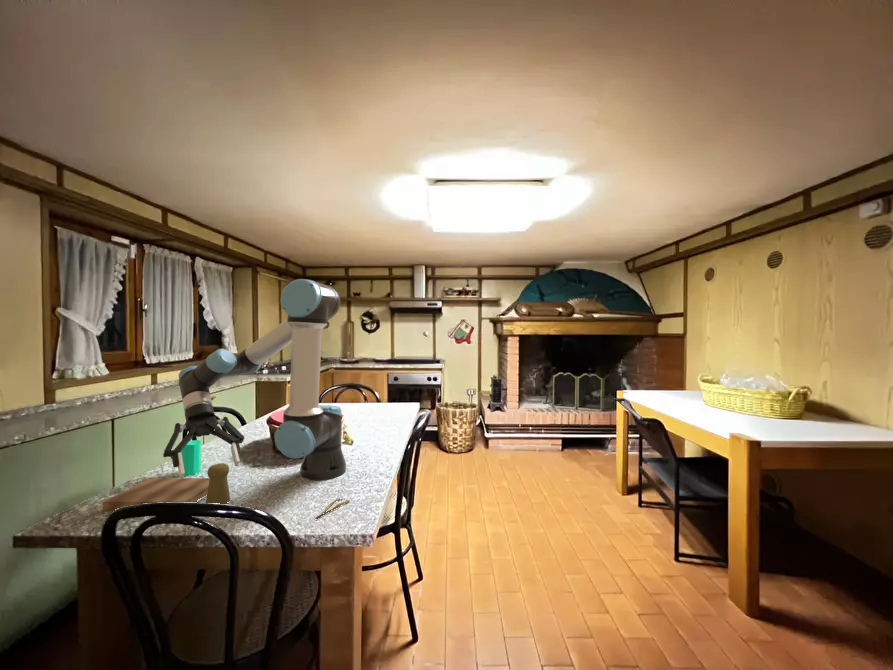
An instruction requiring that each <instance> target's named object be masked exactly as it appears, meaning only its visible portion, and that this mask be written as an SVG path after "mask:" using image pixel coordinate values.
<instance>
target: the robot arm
mask: <svg viewBox="0 0 893 670" xmlns="http://www.w3.org/2000/svg"><path fill="white" fill-rule="evenodd" d="M280 306H281V308H282V309H283V311H284V313H285V314H287V318H286V319H285V320H283V321H282V322H281V323H279V324H278V325H277V326H275V327H274V328H272V329H271V330H269V331H268V332H267V333H265V334H264V335H263V336H261V337H260V338H258V339H257V340H256V341H254V342H253V343H252V344H250V345H249V346H248V347H246V348H245V349H243V350H242V351H240V352H238V353H233V352H232V351H231V350H228V349H225V348H218V349H216V350H215V351H214V352H212V353H210V354H209V355H208V356H207V357H205V359H203V361H202V362H200V363H199V364H198V365H190V366H187V367H186V368H183V369H181V370H180V371H179V373H178V387H179V390H180V395H181V400H182V406H183V412H184V418H185V424H180V422H177V423H175V425H174V429H173V433H172V435H171V437H170V439H169V441H168V443H167V445H166V447H165V448H164V451H163V454H162V457H163V458H167V457H168V458H170V459H171V460H172V467H173V468H177V471H178V475H179V477H178V478H180V479H181V478H185V476H184V474H185V471H184V465H183V459H182V453H181V450H182V449H183V448H184V447H185V446H186V445H187V443H188V442H189V441H190V440H191V441H192V439H194V437H197V438H200V437H203V436H210V435H212V436H214V437H218V438H219V439H221V440H223V441H224V442H225V443H228V444H229V445H230V451H231V456H232V460H233V463H234V467H238V466H239V464H240V461H241V460H240V456H239V455H240V453H241V451H242V449H241V447H240V444H243V442H244V440H245V436H244V435H243V434H242V432H240V431H239V429H238V428H236V427H235V426H234V425H233V424H232V423H231V422H230V421H229V418H228V417H227V416H223V418H221V419H217V418H216V415H215V414H216V413H215V410H214V406H213V401H212V397H211V392H210V388H211V387H212V386H213V385H215V384H216V383H217V382H218V381H220V380H221V379H222V378H226V377H227V378H228V377H233V376H240V375H250V374H253V373H256V372H258V371H259V370H260V369H261V366H262V364H263V363H264V362H266V361H267V360H269V359H270V358H272V357H273V356H275V355H276V354H277V353H279V352H280V351H282V350H284V349H285V348H286V347H288V346H289V345H290V344H291V355H290V356H291V357H290V380H289V381H290V382H289V398H288V399H289V404H288V407H286V409H284V410H283V416H282V423H280V424H279V426H278V427H277V428H276V430H275V432H274V442H275V446H276V447H277V449H278V450H279V452H281V454H282V455H284V456H285V457H288V458H290V459H300V458H302V462H301V464H300V469H299V472H300V474H299V475H300V477H302V478H303V479H306V480H313V481H319V480H320V481H322V480H328V479H329V480H330V479H333V478H336V477H339V476H342V475H343V474H344V473H345V472H346V470H347V462H346V459H345V456H344V453H343V450H342V421H343V419H342V417H343V415H342V408H341V407H340V406H337V405H329V404H328V405H325V404H324V405H323V404H322V405H320V404H319V403H320V379H321V377H320V376H321V361H322V360H321V357H322V356H321V355H322V354H321V353H322V334H323V330H324V328H325V327H327V325H328V321H330V320H331V319H332V318H334V317H335V316H336V315H337V313H338V312H339V310H340V306H341V298H340V295H339V294H338V292H337V291H336V289H334V288H333V287H332V286H330V285H329V284H323V283H320V282H317V281H315V280H312V279H305V278H297V279H295V280H292V281H290V282H289V283H288V284H287V285H286V286H285V287H284V288H283V290H282V292H281V294H280ZM218 425H220V426H218ZM222 427H223V429H224V430H223V429H222ZM183 430H186V431H187V433H186V435H185V436H184V437H183V438H182V440H181V441H180V442H179V443H178V444H177V445H176V447H175V448H174V449H173V447H174V445H175V444H176V441H177V439H178V437H179V434H180V433H182V432H183ZM172 449H173V450H172Z"/></svg>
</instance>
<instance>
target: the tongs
mask: <svg viewBox="0 0 893 670" xmlns="http://www.w3.org/2000/svg"><path fill="white" fill-rule="evenodd" d="M338 499H339V498H336V499H335V500H334V501H332V502H330V503H329V504H328V505H327V507H326V508H324V509H325V510H324V511H322V513H321V514H319V515H317V516H316V517H315V518H314V520H315V519H318V518H320V517H321V516H323V515H324V516H325V514H326V513H328V512H330V511H331V510H333V511H335V510H337V509H336V508H338V507H339V508H341V507H342V506H341V505H343V504H344V503H346V504H348V503H349V502H350V500H348V499H346V500H345V501H343V500H342V499H343V498H340V499H341V501H343V502H340V503H337V502H336V501H338ZM335 502H336V503H337V504H336V505H335V504H334V503H335ZM338 502H339V501H338ZM333 504H334V505H333ZM332 505H333V507H331V506H332ZM340 506H341V507H340ZM343 506H344V505H343ZM330 507H331V508H330ZM329 508H330V509H329ZM339 508H338V509H339ZM328 509H329V510H328ZM334 509H335V510H334ZM327 510H328V511H327ZM326 511H327V512H326ZM323 513H324V514H323ZM330 513H331V512H330ZM328 514H329V513H328ZM326 515H327V514H326ZM324 516H323V517H324ZM321 518H322V517H321ZM321 518H320V519H321ZM318 520H319V519H318Z"/></svg>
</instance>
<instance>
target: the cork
mask: <svg viewBox="0 0 893 670" xmlns="http://www.w3.org/2000/svg"><path fill="white" fill-rule="evenodd" d="M229 466H230V465H228V464H227V463H216V464H212V465H210V466H209V467H208V468H207V472H206V473H207V477H208V478H210V480H209V486H208V492H207V497H205V504H206V503H220V504H228V505H230V503H227V502H229V501H231V496H230V487H229V480H228V475H229V473H230V467H229Z"/></svg>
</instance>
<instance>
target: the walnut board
mask: <svg viewBox="0 0 893 670" xmlns="http://www.w3.org/2000/svg"><path fill="white" fill-rule="evenodd" d="M209 480H210V478H209V477H208V478H207V477H202V478H201V477H196V478H195V477H183V478H181V479H180V477H174V478H172V477H168V478H167V477H163V478H161V477H158V478H157V477H154V478H153V477H149V478H148V479H145V480H143V481H142V482H139V483H138V484H136V485H134V486H132V487H130V488H127V489H126V490H124V491H122V492H120V493H117V494H115V495H114V496H112V497H109V498H107V499H106V500H103V501H102V512H114V511H113V510H115V509H117V508H121V507H124V506H130V505H137V504H143V503H157V502H197V500H198V499H200V498H202V497H204V496H206V495H207V492H208V486H209Z"/></svg>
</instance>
